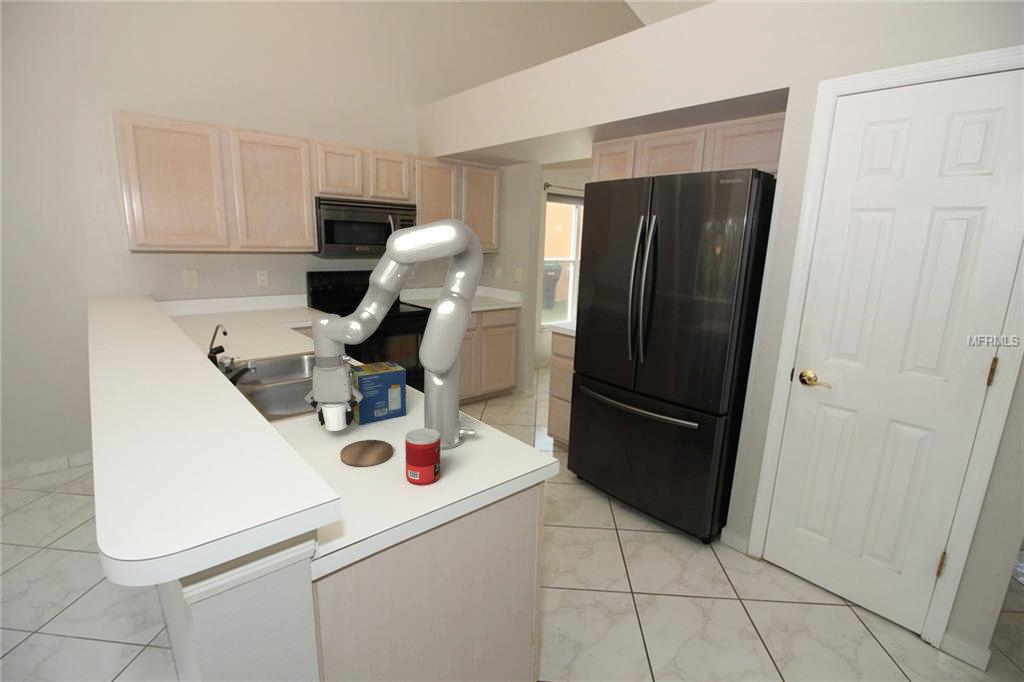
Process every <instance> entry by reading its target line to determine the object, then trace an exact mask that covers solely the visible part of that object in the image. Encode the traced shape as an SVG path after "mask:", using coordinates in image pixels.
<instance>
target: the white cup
mask: <svg viewBox="0 0 1024 682" xmlns="http://www.w3.org/2000/svg"><path fill="white" fill-rule="evenodd" d="M321 406H322V411H323V416H324V421H325V424H324V426H325V429H326V430H327V431H328V432H329V431H330V432H337V431H343V430H344V429H346V428H348V427H349V425H346V416H345V412H346V411H347V410H346V407H345V405H344V404H343V402H324V403H323V405H321Z"/></svg>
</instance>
